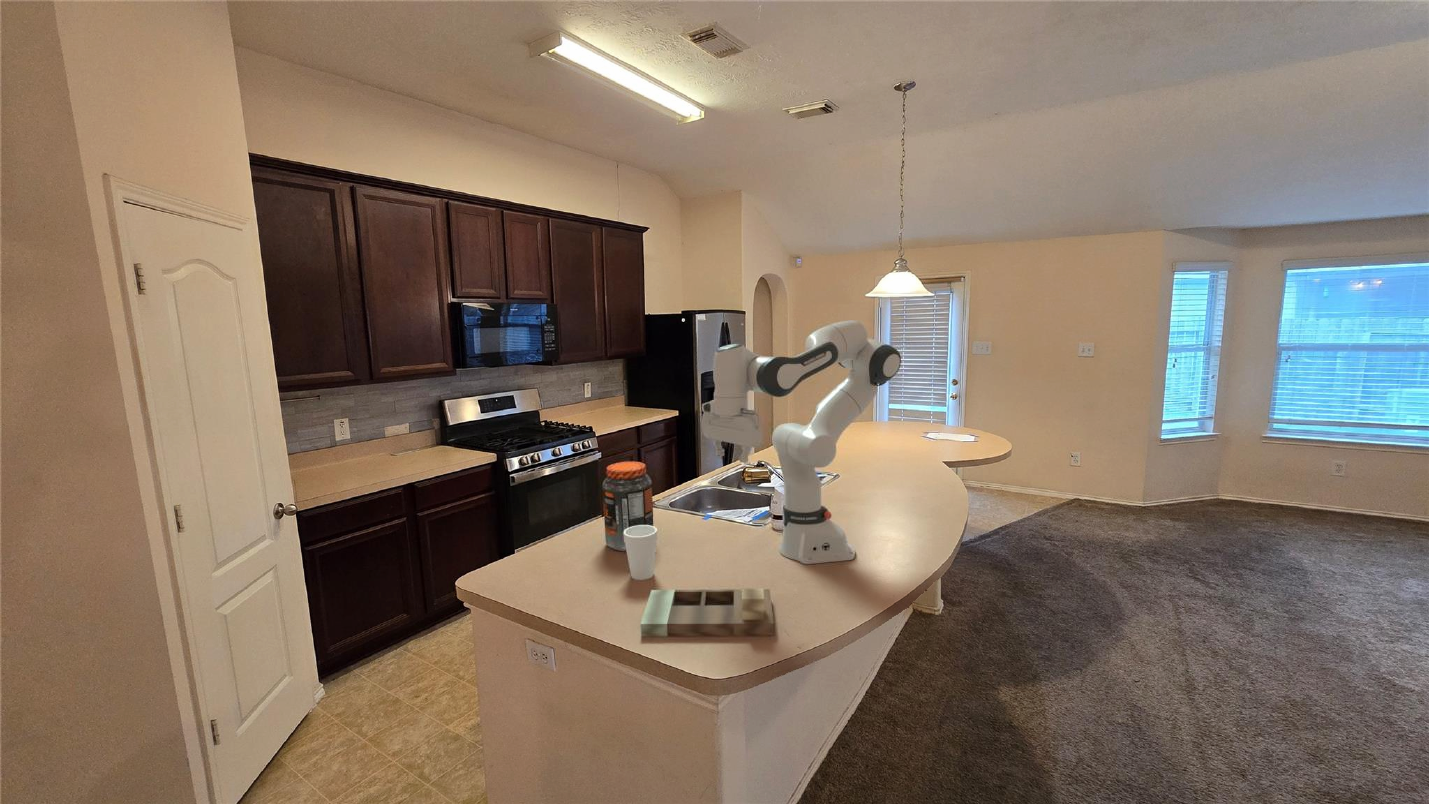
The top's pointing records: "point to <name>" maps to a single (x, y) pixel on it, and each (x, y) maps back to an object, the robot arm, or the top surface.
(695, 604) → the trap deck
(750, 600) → the maple block
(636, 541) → the foam cup
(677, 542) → the top surface
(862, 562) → the top surface
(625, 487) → the supplement tub
